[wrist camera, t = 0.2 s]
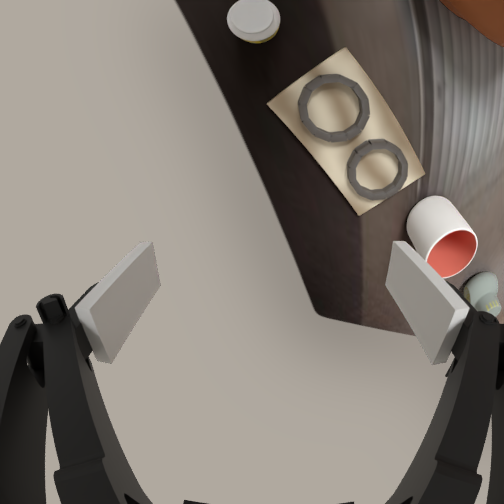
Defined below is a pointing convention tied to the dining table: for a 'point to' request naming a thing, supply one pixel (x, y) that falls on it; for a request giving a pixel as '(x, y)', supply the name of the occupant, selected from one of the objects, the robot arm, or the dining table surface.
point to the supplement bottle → (254, 20)
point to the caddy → (349, 131)
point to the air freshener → (483, 293)
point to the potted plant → (481, 16)
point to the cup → (441, 235)
